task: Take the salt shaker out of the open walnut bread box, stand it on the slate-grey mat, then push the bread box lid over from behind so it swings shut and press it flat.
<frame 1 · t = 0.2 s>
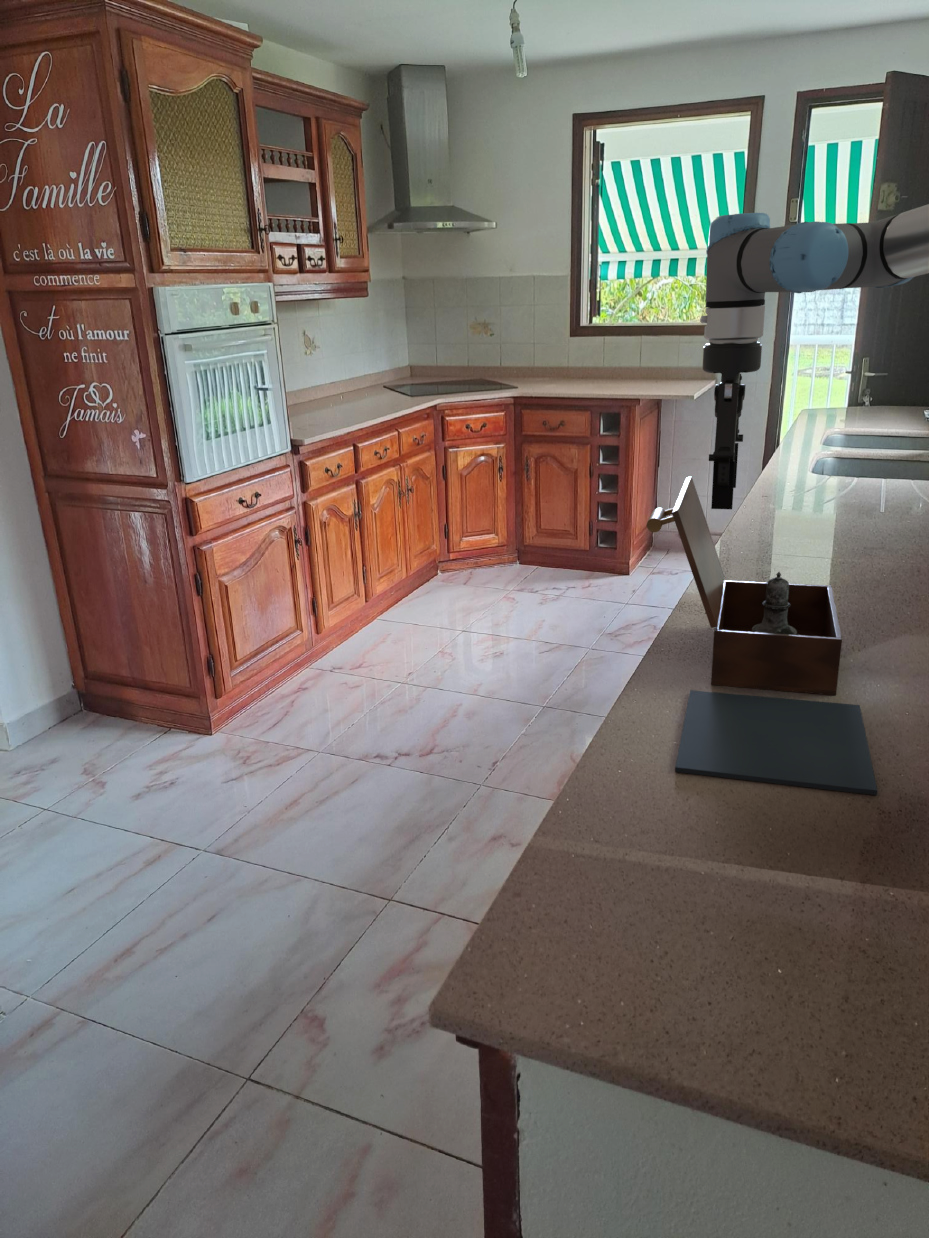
hand: (724, 497, 125), 21 cm above the counter, tool pointing down, fingers open, 13 cm apart
bread box lid: (682, 552, 121), point 15 cm above the counter, hinge at 110.0°
salt shaker: (772, 655, 122), resting on bread box
bread box: (772, 658, 122), on the counter
mat: (772, 738, 101), on the counter
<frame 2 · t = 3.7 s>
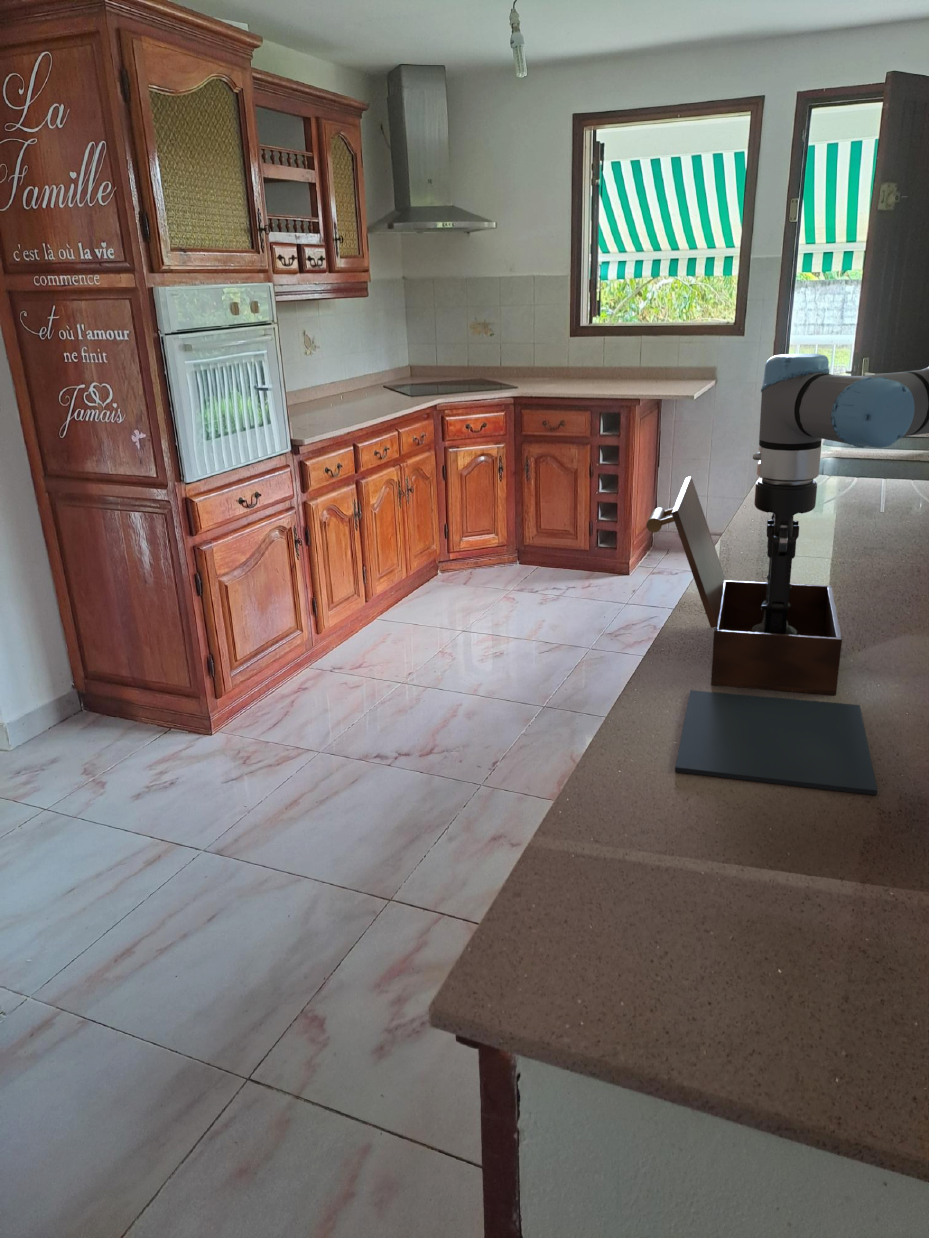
hand: (773, 644, 122), 2 cm above the counter, tool pointing down, fingers closed on salt shaker, 6 cm apart
salt shaker: (772, 655, 122), resting on bread box, touching gripper
everything else where it was.
when the fingers open (2 cm above the counter, at t = 11.8 s): salt shaker stays where it is, resting on mat.
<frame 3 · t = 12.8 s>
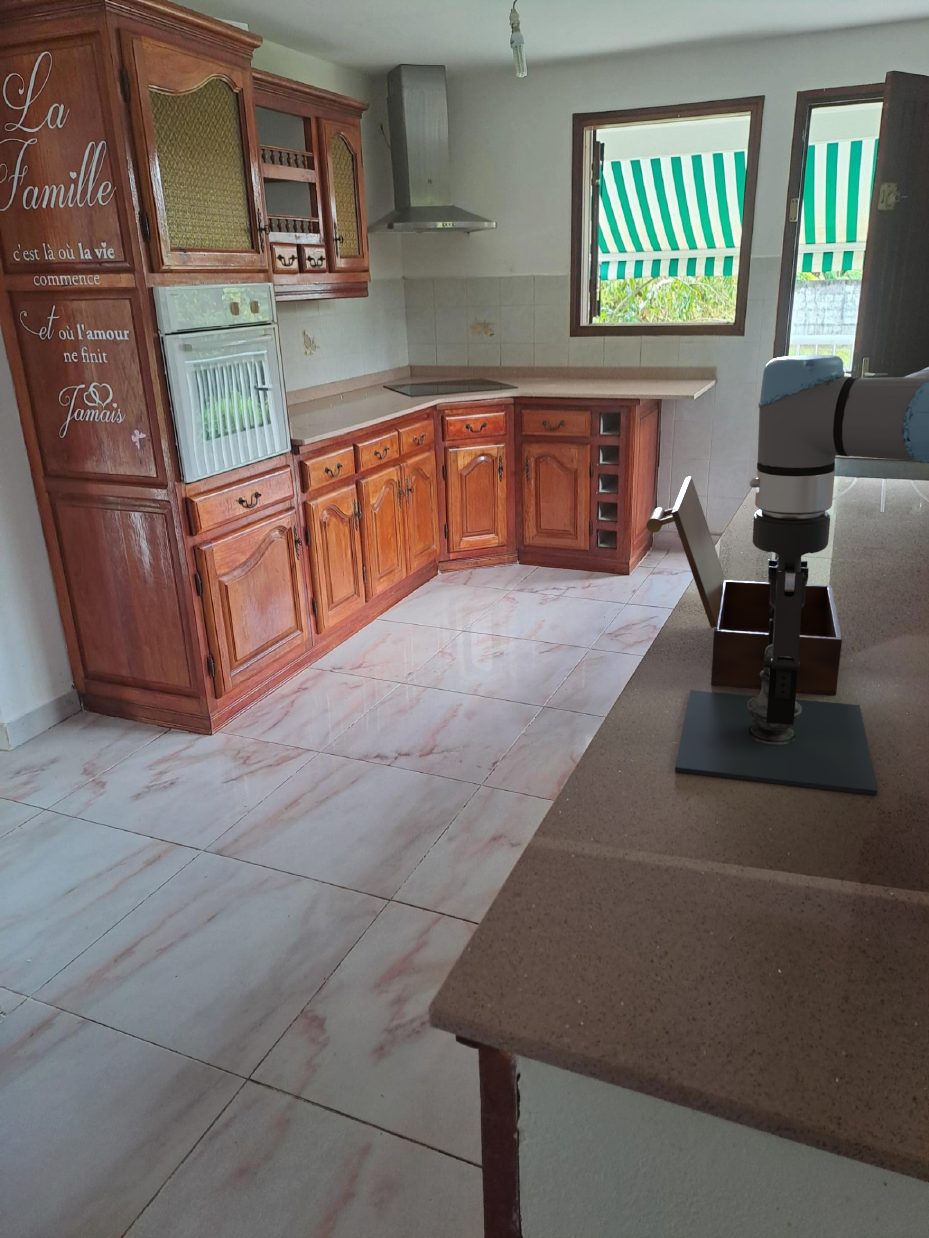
hand: (779, 695, 99), 6 cm above the counter, tool pointing down, fingers open, 13 cm apart
salt shaker: (771, 735, 101), resting on mat
everything else where it was.
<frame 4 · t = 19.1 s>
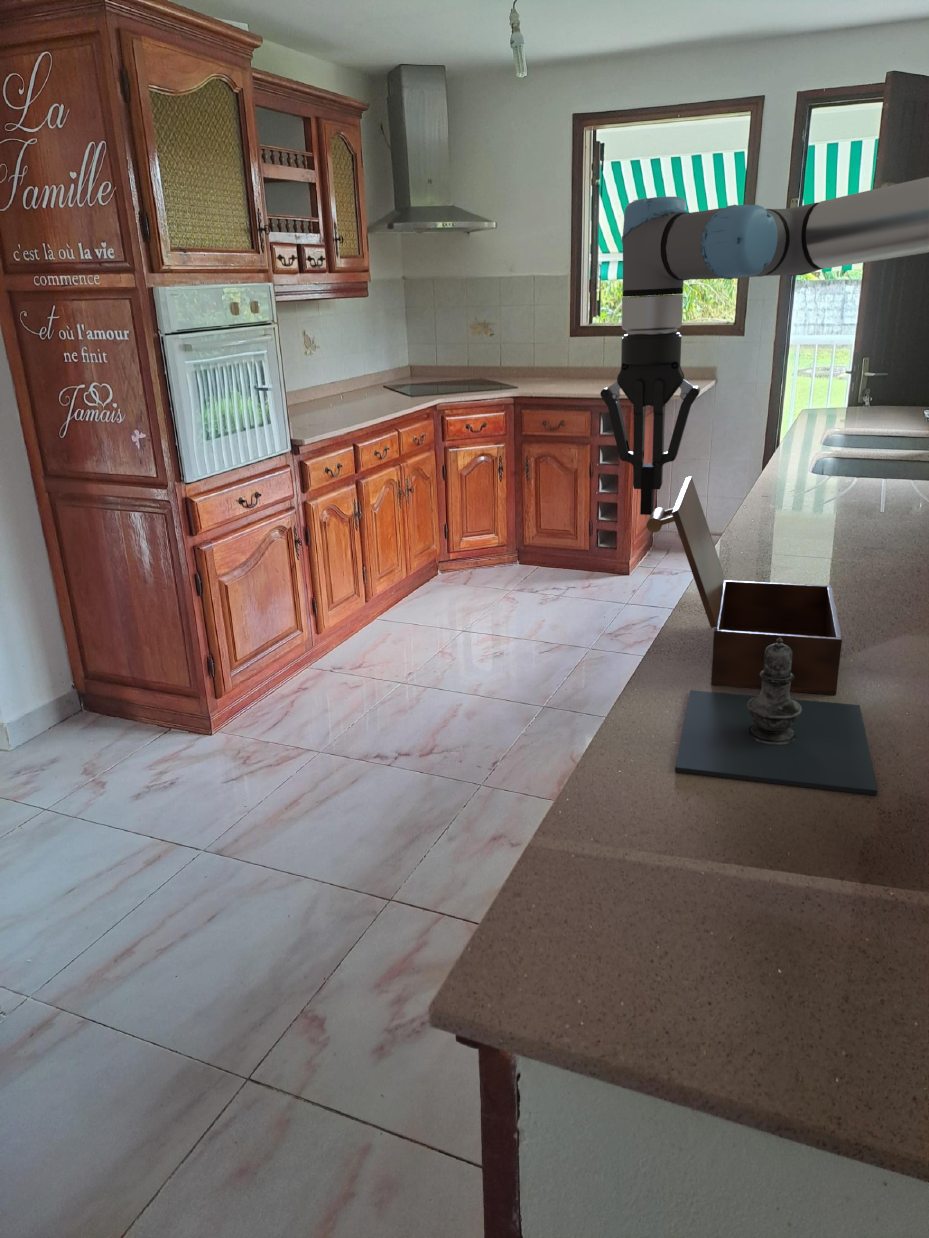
hand: (646, 512, 120), 20 cm above the counter, tool pointing down, fingers closed
bread box lid: (682, 552, 121), point 15 cm above the counter, hinge at 110.0°, touching gripper
everything else where it was.
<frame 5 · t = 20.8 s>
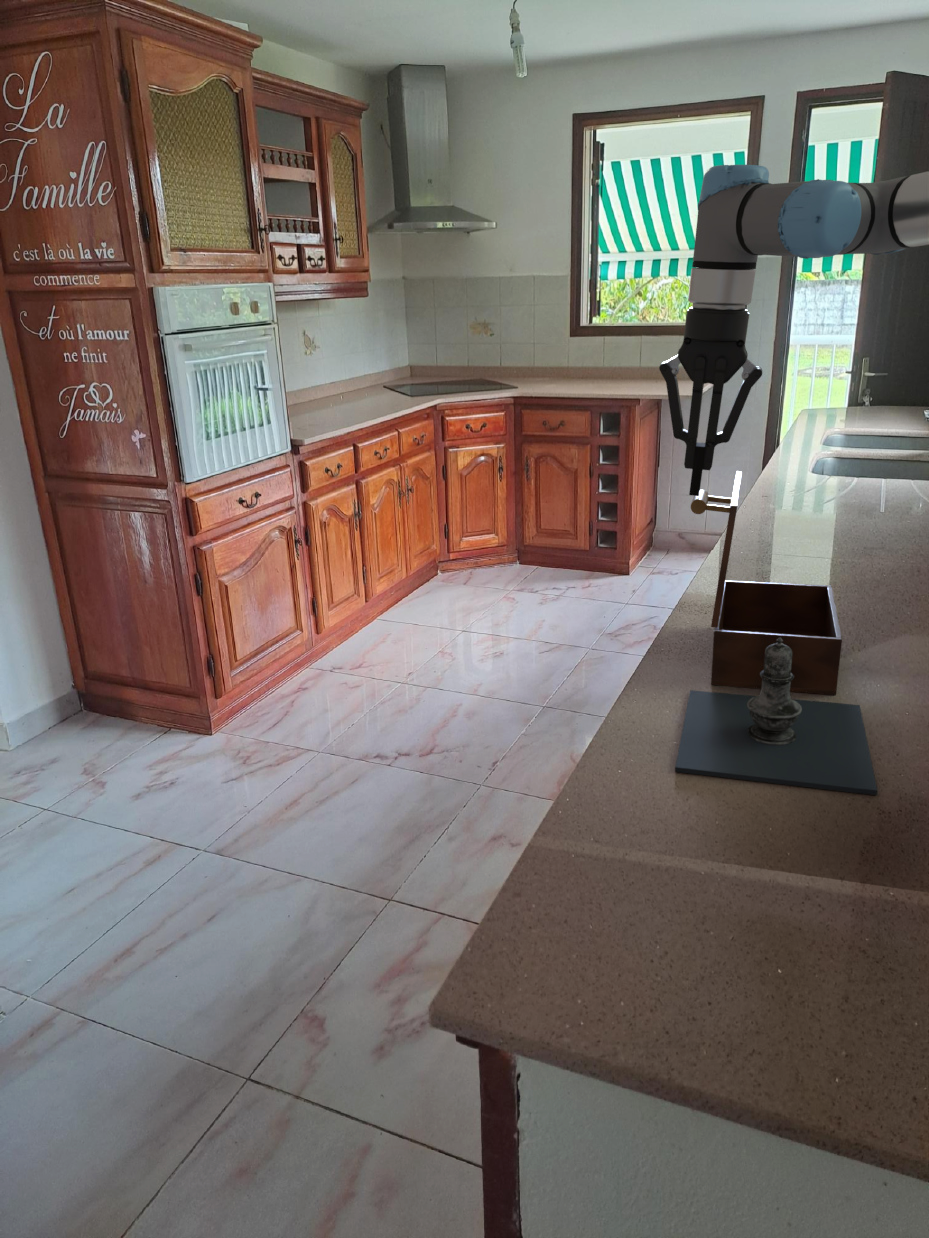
hand: (694, 492, 118), 23 cm above the counter, tool pointing down, fingers closed
bread box lid: (708, 542, 119), point 16 cm above the counter, hinge at 84.5°, touching gripper
everything else where it was.
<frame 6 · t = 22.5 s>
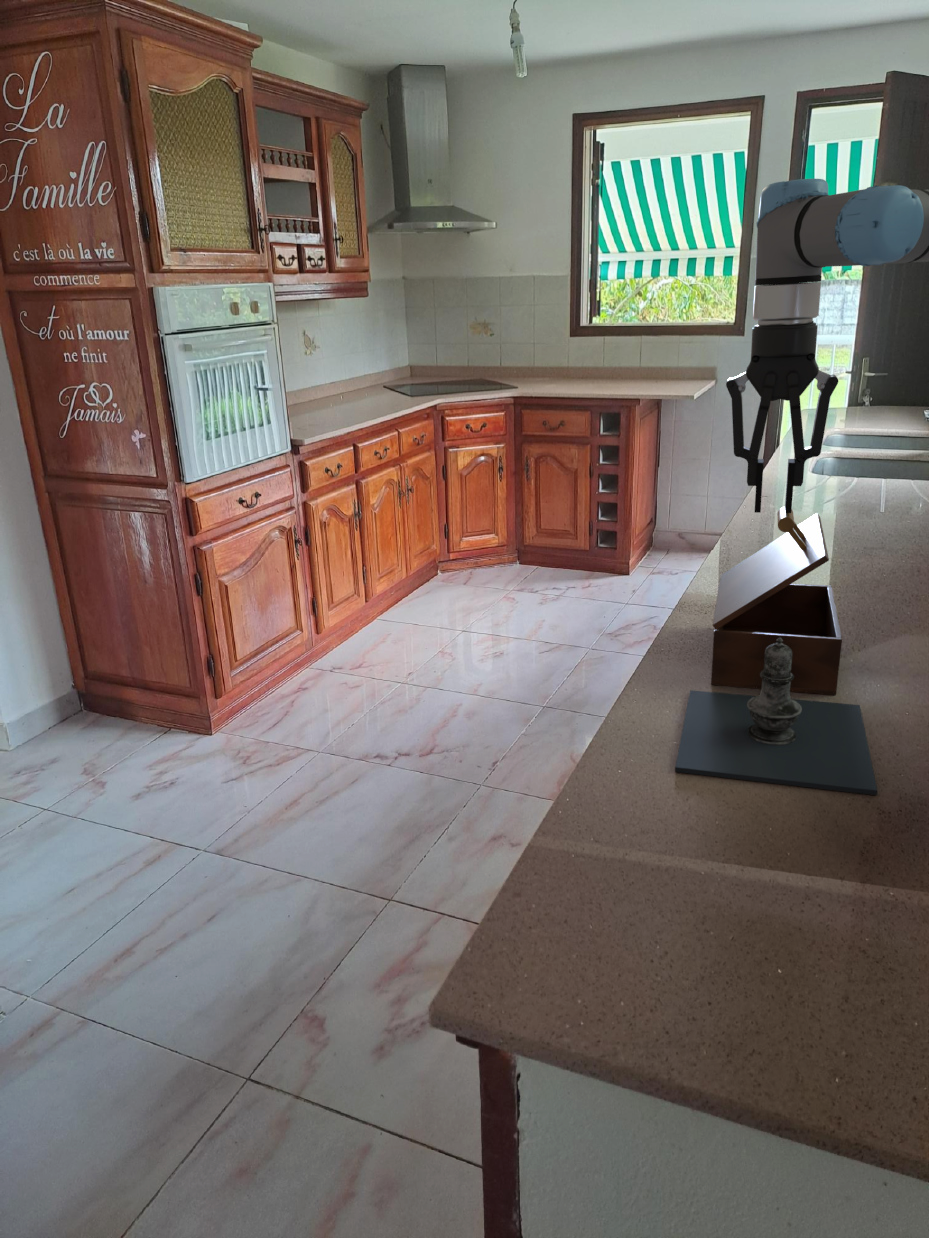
hand: (772, 509, 115), 21 cm above the counter, tool pointing down, fingers open, 3 cm apart
bread box lid: (757, 554, 118), point 15 cm above the counter, hinge at 38.2°, touching gripper
everything else where it was.
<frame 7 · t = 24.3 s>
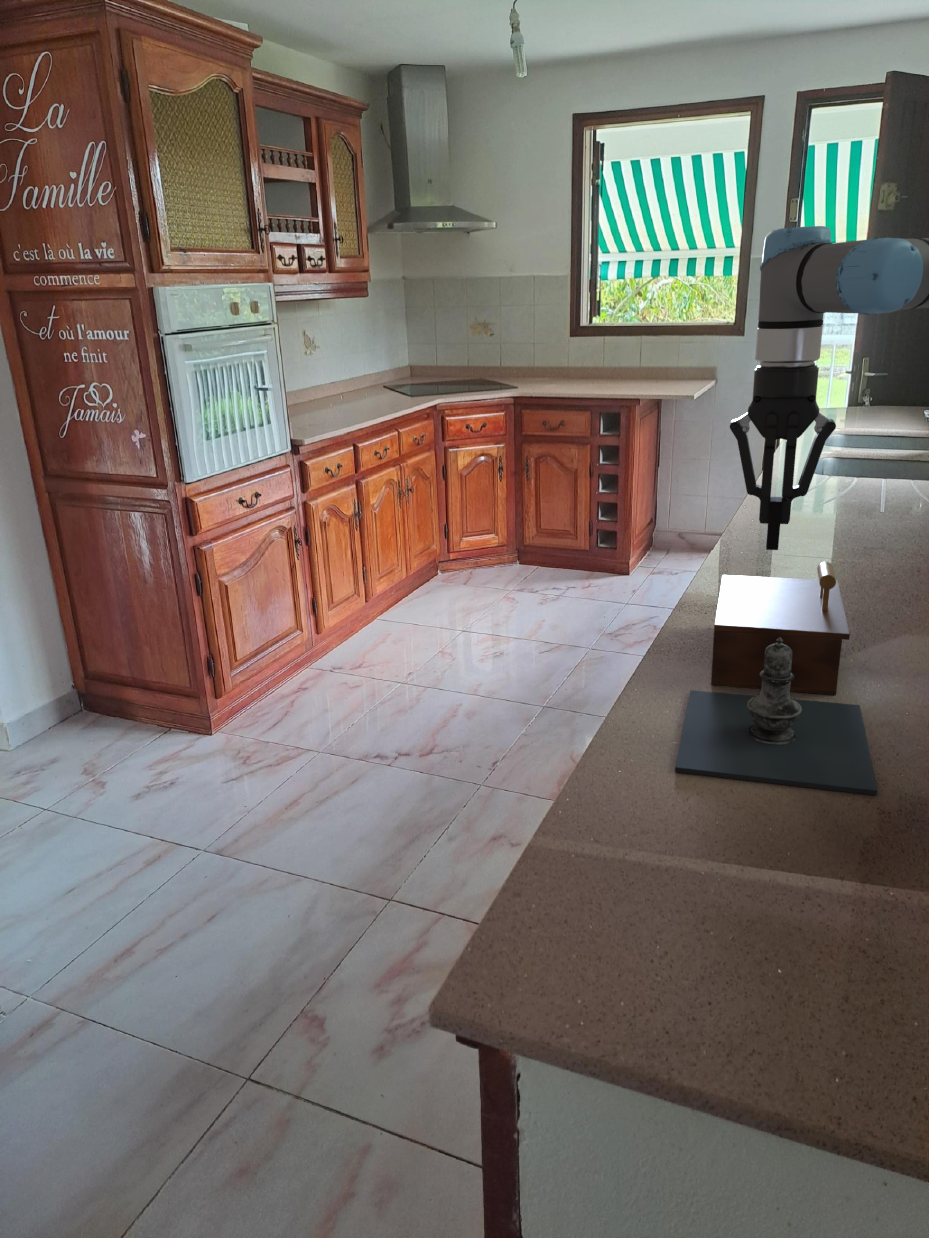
hand: (772, 546, 117), 16 cm above the counter, tool pointing down, fingers closed
bread box lid: (781, 586, 118), point 11 cm above the counter, hinge at -0.1°
everything else where it was.
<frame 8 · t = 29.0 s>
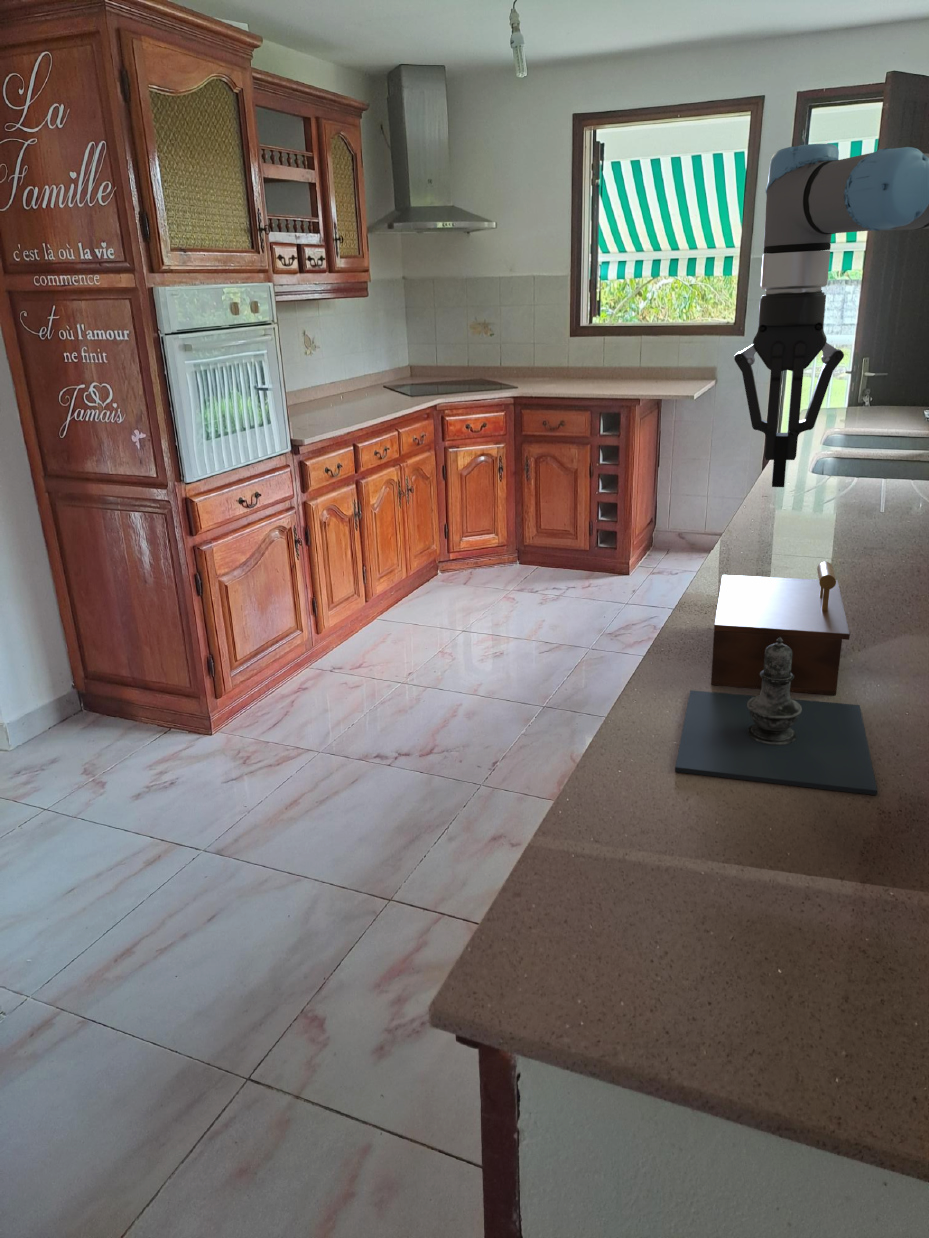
hand: (777, 484, 114), 24 cm above the counter, tool pointing down, fingers closed
nothing on the counter moved.
at the end: salt shaker inside the target area on the mat (0.1 cm from its centre), point 0.4 cm above the mat's base; salt shaker tilted 0° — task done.
